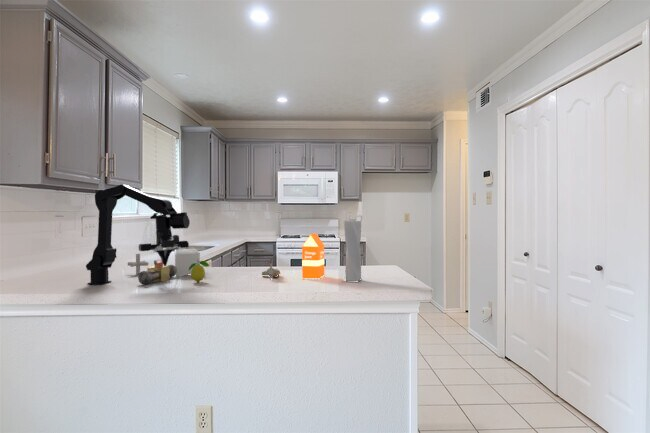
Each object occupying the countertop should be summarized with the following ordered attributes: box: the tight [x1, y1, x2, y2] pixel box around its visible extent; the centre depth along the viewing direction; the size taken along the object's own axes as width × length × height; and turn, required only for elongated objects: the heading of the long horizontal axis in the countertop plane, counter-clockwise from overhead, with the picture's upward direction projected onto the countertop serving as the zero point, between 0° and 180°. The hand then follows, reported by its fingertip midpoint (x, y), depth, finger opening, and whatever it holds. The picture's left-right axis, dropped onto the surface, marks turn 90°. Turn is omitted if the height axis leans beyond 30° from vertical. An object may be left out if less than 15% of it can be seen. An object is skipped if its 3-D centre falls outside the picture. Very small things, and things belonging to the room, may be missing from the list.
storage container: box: [174, 248, 201, 277], centre depth 182 cm, size 25×11×11 cm, turn 24°
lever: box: [153, 259, 164, 267], centre depth 152 cm, size 15×4×2 cm, turn 28°
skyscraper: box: [343, 214, 363, 283], centre depth 152 cm, size 8×8×28 cm
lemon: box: [189, 260, 210, 283], centre depth 152 cm, size 7×6×10 cm
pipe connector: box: [127, 253, 149, 275], centre depth 177 cm, size 10×10×10 cm
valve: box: [261, 263, 281, 279], centre depth 161 cm, size 8×12×10 cm
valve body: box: [137, 264, 177, 286], centre depth 157 cm, size 20×6×7 cm, turn 174°
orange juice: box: [301, 233, 325, 278], centre depth 159 cm, size 8×9×20 cm
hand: (165, 265), depth 150 cm, fingers closed
